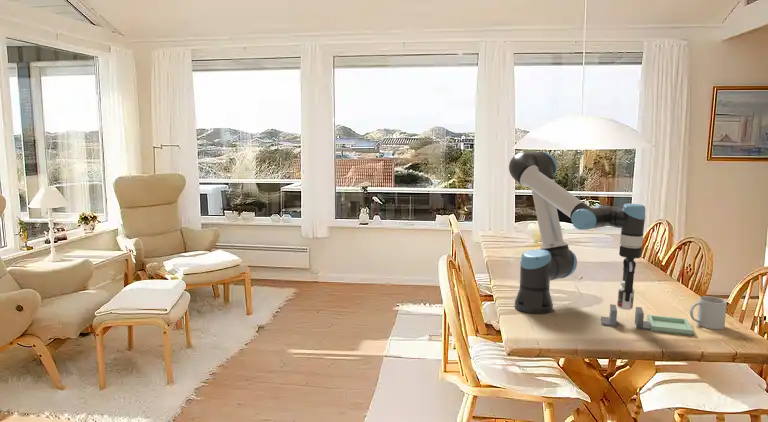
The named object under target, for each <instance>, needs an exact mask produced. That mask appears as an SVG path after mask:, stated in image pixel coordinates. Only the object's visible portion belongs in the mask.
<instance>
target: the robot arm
mask: <svg viewBox="0 0 768 422" xmlns="http://www.w3.org/2000/svg"><path fill="white" fill-rule="evenodd" d="M508 170H509V171H508V172H509V174H510V176H511V178H513V179H514V181H515V182H517V183H518V185H519V184H520V186H522V187H528V188H529V189H530V190H531V194H532V198H533V199H532V200H533V204H534V208H535V213H536V218H537V223H538V229H539V234H540V239H541V246H540V248H538V249H537V248H536V249H528V250H526V251H524V252H522V254H521V256H520V262H519V264H520V268H519V271H520V272H519V289H518V292H517V294H516V297H515V300H514V308H515V310H516V309H517V311H521V312H524V313H527V314H534V315H535V314H538V315H539V314H548V313H551V312H552V311H553V309H554V302H553V298H552V296H551V292H550V282H551V281H555V280H559V279H564V278H565V279H566V278H568V277H569V276H571V275H572V274H573V273H574V272H575V271H576V269H577V266H578V259H577V256H576V254H575V252H573V251H572V250H571V249H570V247H569V244H568V243H567V242H566V241H564V238H563V233H562V228H561V223H560V218H559V217H560V216H559V213H558V210H559V211H560V212H562V214H564V215H565V216H567V217H568V218H570V219H571V223H572V226H573V227H574V228H575V229H577V230H579V231H581V230H583V231H586V230H592V229H598V228H605V227H612V228H618V229H620V240H619V244H620V245H619V252H618V255H619V256H620V257H622V258H624V259H623V261H622V264H623V270H622V271H623V272H622V274H623V275H622V281H625V288H624V291H622V292H623V303H622V309H621V310H626V311H631V309H630V306H631V295H632V292H633V289H634V280H635V279H634V278H635V271H636V270H635V269H636V264H637V263H636V260H635V259H640V258H642V253H643V248H642V247H643V243H644V241H645V238H644V231H645V222H646V218H647V217H646V206H645V205H643V204H641V203H640V204H639V203H625V204H623V205H622V206H623V207H618V206H617V207H616V206H610V205H607V204H604V205H603V204H597V205H595V206H594V207H591V206H590V205H588V204H586V203H585V202H583V201H582V200H581V199H579V198H578V197H576V196H575V195H573V194H572V193H571V192H570V191H568V190H567V189H565V188H564V187H562V186H561V185H559V184H558V183H557V182H556V180H555V176H556V175H557V172H558V162H557V160H556V158H555V156H554V155H553V154H551V153H549V152H547V151H545V152H544V151H530V152H527V151H523V152H519V153H517V154H515V155H514V156H513V157H512V158H511V159H510V161H509V164H508Z"/></svg>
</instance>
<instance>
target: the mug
mask: <svg viewBox="0 0 768 422" xmlns="http://www.w3.org/2000/svg"><path fill="white" fill-rule="evenodd" d="M727 305H728V302H727V300H726V299H724V298H720V297H715V296H707V295H705V296H700V297H699V299H698V301H695V302H694V303H693V304H692V305H691V306H690V308H689V316H690V318H691V320H693V322H696V323H697V325H698V326H700V327H701V326H702V328H704V327H705V329H708V328H709V329H710V330H724V329H725V325H726V314H727V307H728V306H727ZM697 306H698V310H697V318H695V317H694V308H696V307H697ZM709 329H708V330H709Z"/></svg>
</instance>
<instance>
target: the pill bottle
mask: <svg viewBox="0 0 768 422" xmlns="http://www.w3.org/2000/svg"><path fill="white" fill-rule="evenodd" d="M624 288H625V281H623V280H622V281H621V283H620V287H619V288H618V292H617V293H618V294H617V304H616V307H618V308H619V309H621V310H623V309H622V303H623V292H622V291H624ZM634 297H635V289H634V288H633V292H632V295H631V306H630V310H632V309H633V306H634Z"/></svg>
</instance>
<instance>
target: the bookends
mask: <svg viewBox="0 0 768 422" xmlns="http://www.w3.org/2000/svg"><path fill="white" fill-rule="evenodd" d="M634 313H635V314H634V326H635V327H636V330H643V331H651V326H650V324H649V322H648V321H647V320H644V319H645V318H644V317H645V313H644V311H643V308H642V307H640V306H635V312H634ZM617 316H618V309H617V304H612V303H611V304H610V305H609V316H600V323H601V326H605V327H607V326H608V327H615V328H616V327H617V319H618V318H617ZM651 332H652V331H651Z"/></svg>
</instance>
